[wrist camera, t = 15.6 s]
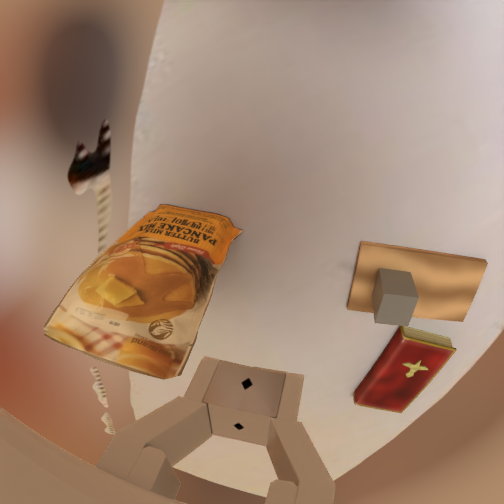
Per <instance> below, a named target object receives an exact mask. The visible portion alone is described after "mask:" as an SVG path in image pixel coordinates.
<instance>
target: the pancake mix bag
mask: <svg viewBox="0 0 504 504" xmlns="http://www.w3.org/2000/svg"><path fill="white" fill-rule="evenodd" d="M242 232H243V230H240V229H238V228H235V227H234V226H233V224H232V223H231V221H230V219H229V218H227V217H224V216H222V215H219V214H214V213H209V212H204V211H198V210H193V209H186V208H181V207H177V206H172V205H162V204H160V205H159V207H158V208H157V209H156V210H155V211H154V212H148V213H147V214H146V215H145V216H144V217H143V218H142V219H141V220H140V221H138V222H137V223H136V224H134V225H133V226H132V227H131V228H130V229H128V230H127V231H126V232H125V233H124V234H123V235H122V236H121V237H120V238H119V239H118V240H117V241H115V242H114V243H113V244H112V245H110V246H109V247H108V248H107V249H106V250H105V251H104V252H103V253H102V254H100V255H99V256H98V257H97V258H96V259H95V260H94V261H93V263H92V264H91V265H90V266H89V267H88V268H87V269H86V270H85V271H84V272H83V273H82V274H81V275H80V276H79V277H78V278H77V280H76V281H75V282H74V284H73V285H72V286H71V288H70V289H69V290H68V292H67V293H66V294H65V296H64V297H63V299H62V300H61V302H60V304H59V305H58V306H57V307H56V309H55V310H54V311H53V313H52V314H51V316H50V318H49V319H48V321H47V323H46V324H45V326H44V328H43V329H44V330H45V331H47V332H46V333H45V334H44V335H45V336H47V337H48V338H50V339H51V340H53V341H55V342H57V343H60V344H62V345H65V346H67V347H69V348H72V349H75V350H78V351H80V352H82V353H84V354H86V355H88V356H91V357H93V358H95V359H97V360H100V361H103V362H105V363H108V364H112V365H115V366H118V367H121V368H124V369H128V370H130V371H133V372H137V373H140V374H144V375H148V376H152V377H156V378H160V379H168V378H172V377H176V376H180V375H181V374H182V371H183V369H184V367H185V365H186V363H187V360H188V358H189V356H190V353H191V351H192V348H193V346H194V344H195V341H196V338H197V333H198V328H199V326H200V324H201V321H202V319H203V316H204V314H205V312H206V309H207V307H208V304H209V301H210V298H211V295H212V292H213V288H214V284H215V280H216V276H217V274H218V272H219V270H220V268H221V266H222V264H223V263H224V261H225V259H226V255H227V251H228V249H229V246H230V244H231V242H232V241H233V240H235V239H236V238H237V237H238V236H239V235H240V234H241V233H242Z"/></svg>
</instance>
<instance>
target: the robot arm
mask: <svg viewBox="0 0 504 504" xmlns="http://www.w3.org/2000/svg"><path fill="white" fill-rule="evenodd" d="M303 381H304V375H302V374H295V373H288V372H287V374H286V372H284V371H278V370H271V369H265V368H259V367H250V366H245V365H241V364H236V363H232V362H228V361H223V360H219V359H214V358H210V357H206V356H205V357H204V358H203V359H202V360H201V362H200V364H199V366H198V368H197V370H196V372H195V374H194V376H193V379H192V381H191V383H190V385H189V387H188V389H187V391H186V393H185V395H184V397H180V396H178V397H177V398H175V399H173V400H172V401H170V402H168V403H167V404H165V405H163V406H161V407H160V408H158V409H156V410H155V411H153V412H151V413H149V414H148V415H146V416H144V417H142V418H140V419H139V420H137V421H135V422H133V423H131V424H130V425H128V426H126V427H124V428H122V429H121V430H119V431H117V432H116V433H115V435H114V437H113V438H112V440H111V442H110V444H109V446H108V447H107V449H106V451H105V452H104V454H103V456H102V457H101V459H100V461H99V463H98V465H97V466H96V467H95V466H93V465H91V464H89V463H87V462H86V461H84V460H81V459H80V458H78V457H76V456H74V455H73V454H71V453H69V452H67V451H66V450H64V449H62V448H61V447H59V446H57V445H56V444H54V443H52V442H50V441H49V440H47V439H45V438H44V437H43V436H41V435H40V434H38V433H36V432H35V431H34V430H32V429H31V428H29V427H28V426H26V425H25V424H23V423H22V422H21V421H19V420H18V419H16V418H15V417H14V416H12V415H11V414H10V413H8V412H7V411H6V410H4V409H3V408H2V407H0V504H186V503H183V502H180V501H177V500H175V497H176V495H177V492H178V490H179V487H180V485H181V484H180V482H179V480H178V478H177V476H176V475H175V473H174V471H173V469H172V466H174V465H175V464H176V463H178V462H179V461H180V460H182V459H183V458H184V457H186V456H187V455H188V454H190V453H191V452H192V451H194V450H195V449H196V448H197V447H199V446H200V445H201V444H203V443H204V442H205V441H206V440H208V439H209V438H210V437H211V436H212V435H217V436H221V437H226V438H231V439H236V440H241V441H245V442H249V443H254V444H258V445H263V446H266V448H267V451H268V453H269V456H270V459H271V461H272V464H273V466H274V469H275V472H276V474H277V477H278V479H279V480H275V481H273V482H271V483H270V487H269V490H268V494H267V498H266V501H265V504H333V500H334V492H335V484H334V482H333V480H332V478H331V476H330V475H329V473H328V471H327V469H326V467H325V465H324V463H323V462H322V460H321V458H320V456H319V454H318V452H317V450H316V449H315V447H314V445H313V443H312V441H311V439H310V437H309V435H308V433H307V432H306V430H305V428H304V426H303V424H302V422H298V421H297V416H298V410H299V405H300V399H301V393H302V387H303Z"/></svg>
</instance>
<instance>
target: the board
mask: <svg viewBox="0 0 504 504" xmlns="http://www.w3.org/2000/svg"><path fill="white" fill-rule="evenodd" d="M487 264H488V263H487V262H486V260H485V259H479V258H473V257H466V256H460V255H454V254H447V253H441V252H434V251H428V250H421V249H414V248H407V247H400V246H393V245H386V244H379V243H372V242H365V241H361V245H360V250H359V255H358V260H357V264H356V269H355V274H354V278H353V283H352V287H351V292H350V296H349V300H348V304H347V310H354V311H362V312H371V313H374V310H373V302H372V293H373V289H374V285H375V282H376V278H377V274H378V270H379V268H385V269H392V270H400V271H407V272H411V275H412V278H413V281H414V284H415V287H416V290H417V293H418V296H419V299H418V301H417V304H416V307H415V310H414V312H413V315H412V317H417V318H427V319H437V320H449V321H460V322H463V320H464V318H465V316H466V314H467V312H468V310H469V308H470V305H471V303H472V301H473V299H474V296H475V294H476V292H477V289H478V287H479V284H480V282H481V279H482V277H483V274H484V272H485V269H486V266H487Z"/></svg>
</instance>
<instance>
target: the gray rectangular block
mask: <svg viewBox="0 0 504 504" xmlns="http://www.w3.org/2000/svg"><path fill="white" fill-rule="evenodd" d="M418 299H419V296H418V293H417V290H416V287H415V284H414V281H413V278H412V275H411V272H407V271H400V270H392V269H385V268H379V270H378V274H377V278H376V282H375V285H374V289H373V293H372V302H373V310H374V320H375V323H381V324H390V325H400V326H408V325H409V322H410V320H411V317H412V315H413V312H414V310H415V307H416V304H417V301H418Z"/></svg>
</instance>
